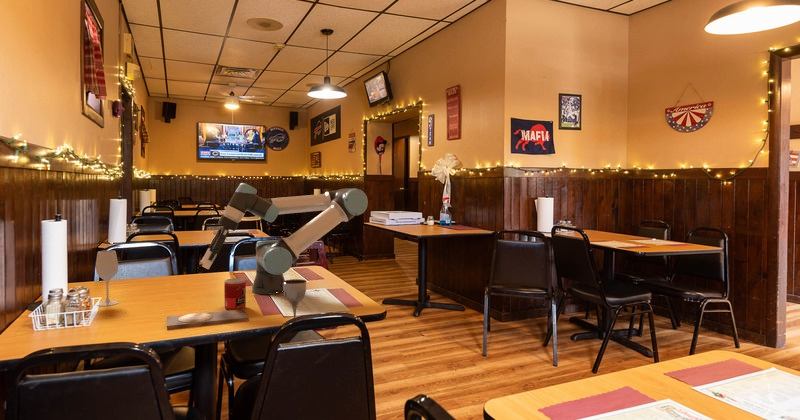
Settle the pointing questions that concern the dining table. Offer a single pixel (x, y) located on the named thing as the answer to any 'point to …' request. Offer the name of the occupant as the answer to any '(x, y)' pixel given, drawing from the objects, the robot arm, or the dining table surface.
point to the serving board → (206, 318)
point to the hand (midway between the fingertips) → (204, 265)
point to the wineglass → (107, 271)
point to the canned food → (235, 294)
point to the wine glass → (294, 292)
